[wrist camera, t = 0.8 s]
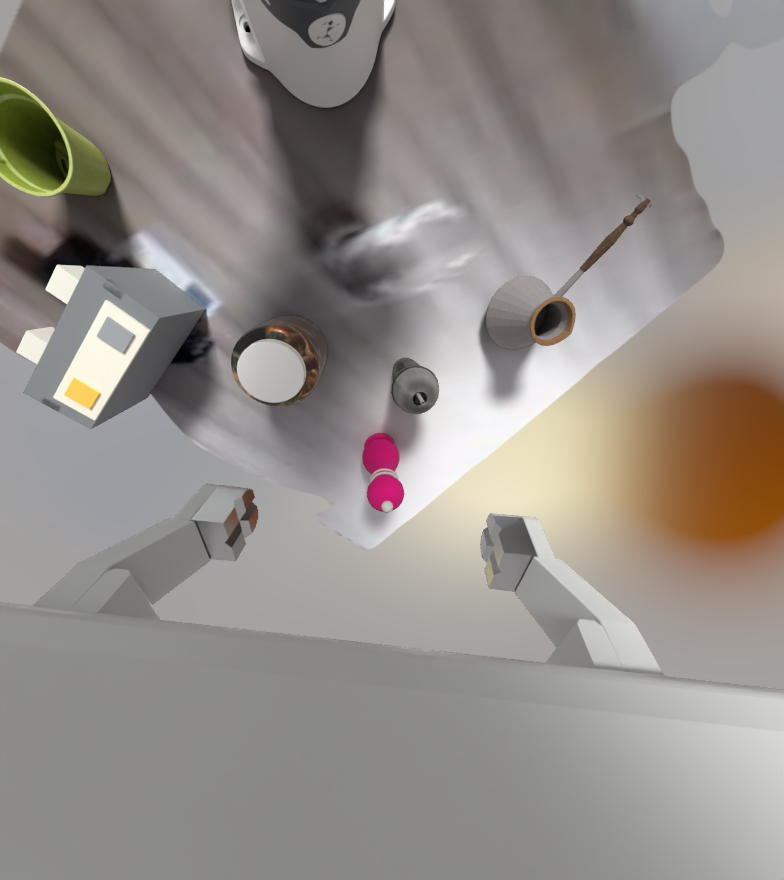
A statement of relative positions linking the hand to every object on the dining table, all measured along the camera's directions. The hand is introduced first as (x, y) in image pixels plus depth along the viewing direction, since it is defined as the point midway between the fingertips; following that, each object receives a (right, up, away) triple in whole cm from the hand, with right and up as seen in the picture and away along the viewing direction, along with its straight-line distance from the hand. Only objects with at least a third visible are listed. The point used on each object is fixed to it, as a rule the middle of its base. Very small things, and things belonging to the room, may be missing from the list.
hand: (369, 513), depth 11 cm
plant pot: (-39, +38, +29) cm, 62 cm away
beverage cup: (+3, +16, +46) cm, 49 cm away
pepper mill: (-2, +1, +53) cm, 53 cm away
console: (-39, +19, +39) cm, 58 cm away
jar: (-16, +18, +42) cm, 49 cm away
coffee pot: (+24, +29, +41) cm, 56 cm away
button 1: (-38, +22, +30) cm, 53 cm away
